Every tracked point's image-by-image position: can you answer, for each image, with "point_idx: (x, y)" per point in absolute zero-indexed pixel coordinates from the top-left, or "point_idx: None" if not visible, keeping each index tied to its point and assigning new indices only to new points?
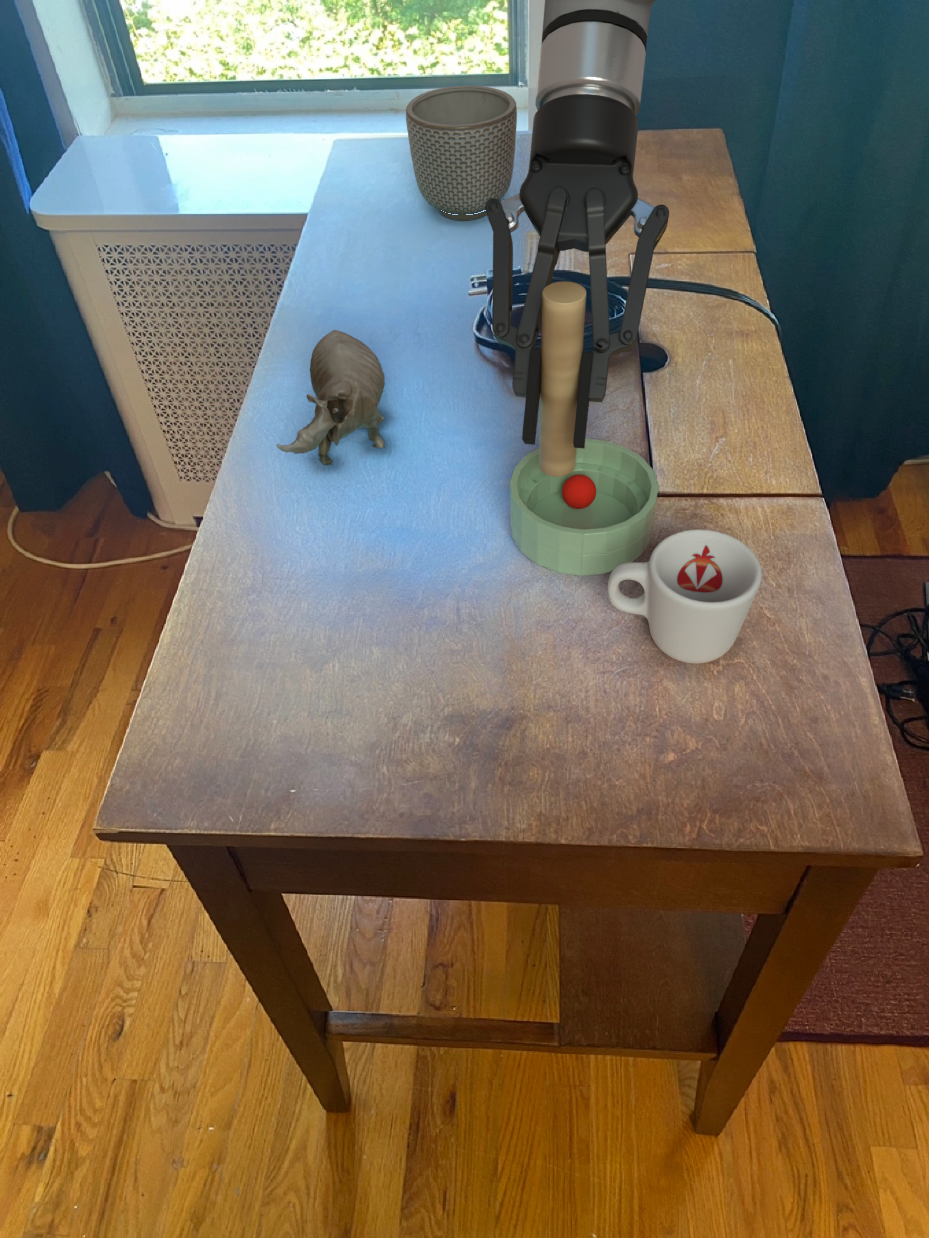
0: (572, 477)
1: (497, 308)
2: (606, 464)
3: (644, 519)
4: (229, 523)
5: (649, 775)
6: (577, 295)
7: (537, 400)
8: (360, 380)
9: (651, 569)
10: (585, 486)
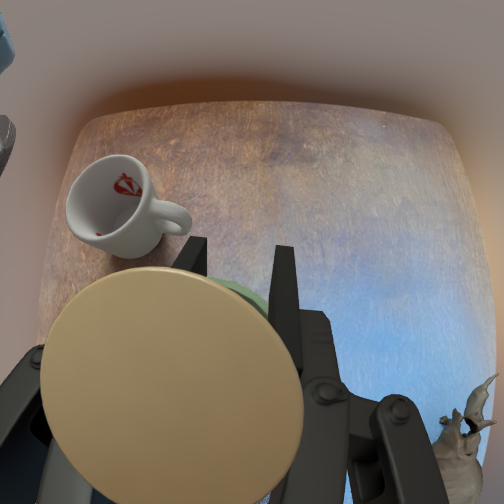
0: None
1: (423, 458)
2: None
3: None
4: (488, 334)
5: (187, 130)
6: (75, 358)
7: (271, 310)
8: (453, 468)
9: (148, 187)
10: None
